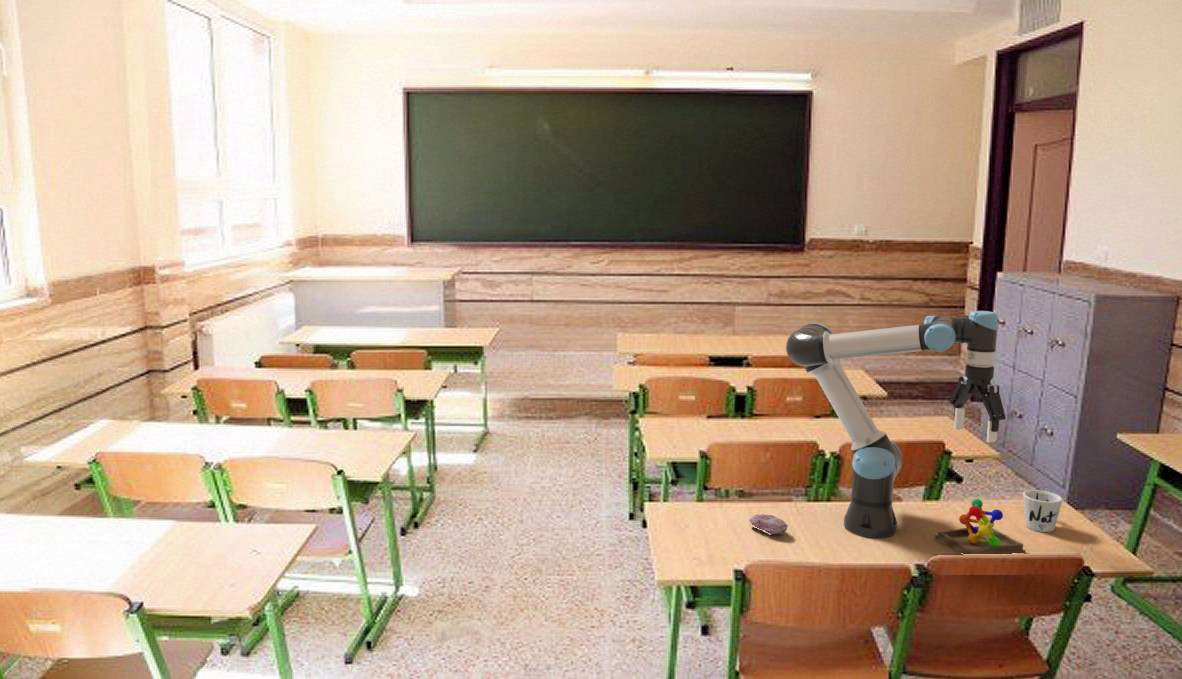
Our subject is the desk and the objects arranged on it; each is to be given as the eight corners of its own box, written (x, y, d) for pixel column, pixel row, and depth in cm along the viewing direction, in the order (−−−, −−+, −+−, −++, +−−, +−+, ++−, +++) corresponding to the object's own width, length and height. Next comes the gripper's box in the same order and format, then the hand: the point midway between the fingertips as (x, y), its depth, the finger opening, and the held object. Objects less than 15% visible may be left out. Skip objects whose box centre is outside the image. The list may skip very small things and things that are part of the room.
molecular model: (1004, 550, 230) (1006, 510, 228) (981, 552, 229) (983, 512, 227) (978, 534, 241) (980, 496, 239) (956, 536, 240) (958, 498, 238)
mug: (1023, 532, 245) (1026, 500, 243) (1014, 513, 259) (1016, 483, 257) (1063, 536, 242) (1066, 503, 240) (1051, 517, 256) (1054, 486, 254)
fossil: (774, 542, 239) (774, 525, 238) (741, 526, 251) (741, 510, 250) (794, 536, 243) (795, 519, 242) (762, 520, 255) (762, 504, 254)
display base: (934, 538, 241) (935, 530, 240) (983, 531, 245) (984, 523, 245) (973, 561, 225) (974, 553, 225) (1025, 554, 230) (1025, 545, 229)
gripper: (940, 357, 250) (935, 425, 254) (1000, 374, 227) (994, 448, 230) (961, 355, 252) (956, 423, 256) (1023, 372, 229) (1017, 446, 232)
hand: (974, 435), depth 243 cm, fingers open, 13 cm apart
